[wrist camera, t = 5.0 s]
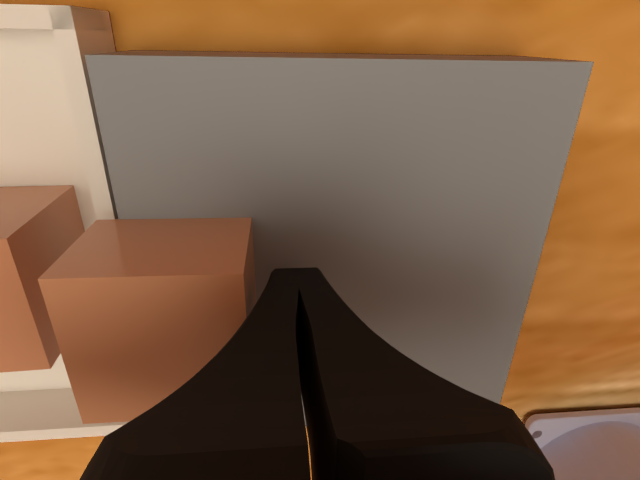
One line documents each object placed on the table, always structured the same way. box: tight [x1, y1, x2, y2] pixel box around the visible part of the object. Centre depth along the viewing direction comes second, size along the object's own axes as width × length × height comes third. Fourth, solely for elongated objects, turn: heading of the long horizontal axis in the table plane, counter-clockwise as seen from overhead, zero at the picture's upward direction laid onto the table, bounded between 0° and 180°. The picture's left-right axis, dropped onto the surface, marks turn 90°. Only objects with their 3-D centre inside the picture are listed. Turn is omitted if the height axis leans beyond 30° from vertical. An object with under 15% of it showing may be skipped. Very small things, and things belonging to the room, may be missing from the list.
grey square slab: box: [85, 50, 594, 426], centre depth 14 cm, size 12×12×4 cm
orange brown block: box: [38, 217, 256, 424], centre depth 11 cm, size 4×4×3 cm
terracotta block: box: [0, 185, 85, 373], centre depth 12 cm, size 4×4×3 cm
